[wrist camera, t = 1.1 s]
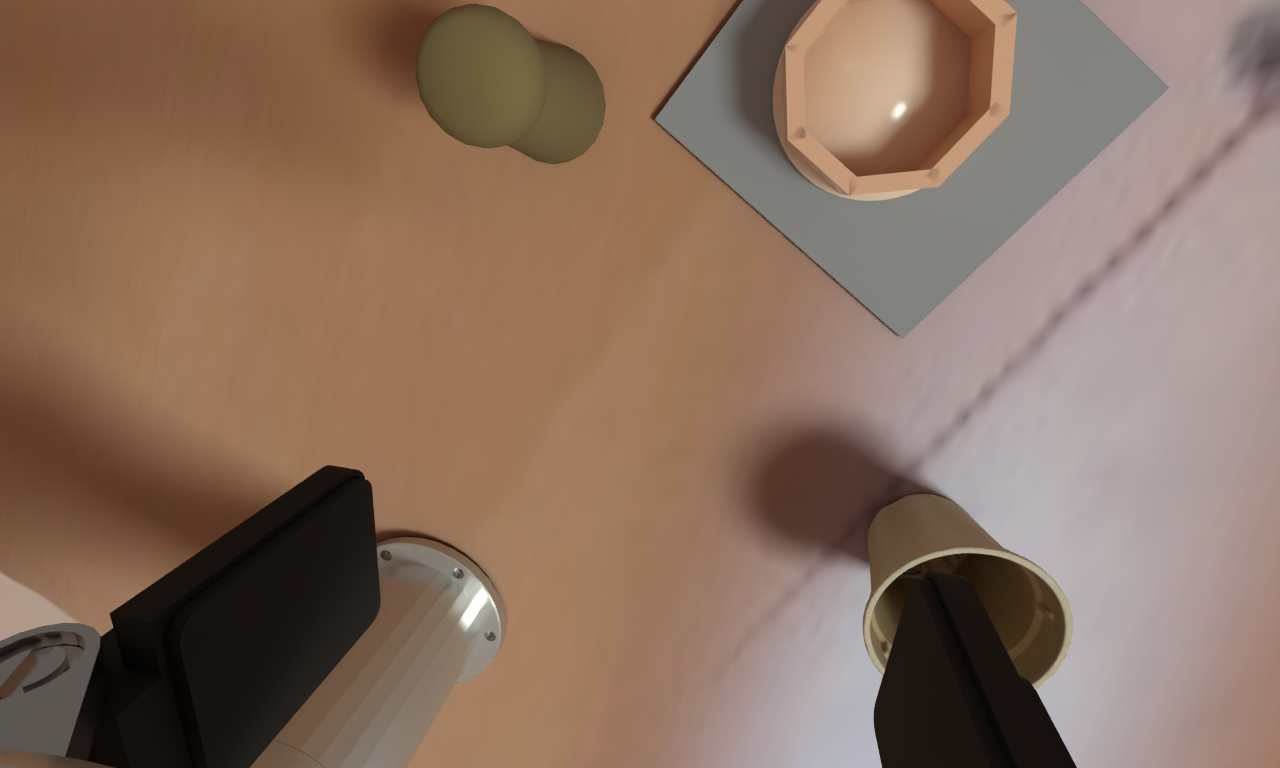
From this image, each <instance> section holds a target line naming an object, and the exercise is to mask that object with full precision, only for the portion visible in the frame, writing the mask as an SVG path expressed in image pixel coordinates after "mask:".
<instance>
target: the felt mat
mask: <svg viewBox="0 0 1280 768" xmlns="http://www.w3.org/2000/svg"><path fill="white" fill-rule="evenodd" d="M816 1H817V0H743V1H742V3H741V4H740V5H739V7H738V8H737V9H736V11H735V12H734V13H733V15H732V16H731V17H730V19H729V20H728V21H727V23H726V24H725V26H724V27H723V28H722V30H721V31H720V32H719V34H718V35H717V36H716V38H715V39H714V40H713V42H712V43H711V44H710V46H709V47H708V48H707V50H706V51H705V52H704V54H703V55H702V57H701V58H700V59H699V61H698V62H697V63H696V65H695V66H694V67H693V69H692V70H691V71H690V73H689V74H688V75H687V77H686V78H685V79H684V81H683V82H682V83H681V85H680V86H679V88H678V89H677V90H676V92H675V93H674V94H673V96H672V97H671V98H670V100H669V101H668V102H667V104H666V105H665V106H664V108H663V109H662V110H661V112H660V113H659V115H658V116H657V117H656V119H655V120H656V121H657V122H658V123H659V124H660V125H661V126H662V127H663V128H665V129H666V130H667V131H668V132H669V133H670V134H671V135H673V136H674V137H675V138H676V139H677V140H678V141H679V142H680V143H682V144H683V145H684V146H685V147H686V148H687V149H688V150H689V151H691V152H692V153H693V154H694V155H695V156H696V157H697V158H699V159H700V160H701V161H702V162H703V163H704V164H705V165H706V166H708V167H709V168H710V169H711V170H712V171H713V172H714V173H715V174H717V175H718V176H719V177H720V178H721V179H722V180H723V181H725V182H726V183H727V184H728V185H729V186H730V187H731V188H732V189H734V190H735V191H736V192H737V193H738V194H739V195H740V196H741V197H743V198H744V199H745V200H746V201H747V202H748V203H749V204H751V205H752V206H753V207H754V208H755V209H756V210H757V211H758V212H760V213H761V214H762V215H763V216H764V217H765V218H766V219H767V220H769V221H770V222H771V223H772V224H773V225H774V226H775V227H777V228H778V229H779V230H780V231H781V232H782V233H783V234H784V235H786V236H787V237H788V238H789V239H790V240H791V241H792V242H793V243H795V244H796V245H797V246H798V247H799V248H800V249H801V250H803V251H804V252H805V253H806V254H807V255H808V256H809V257H810V258H812V259H813V260H814V261H815V262H816V263H817V264H818V265H819V266H821V267H822V268H823V269H824V270H825V271H826V272H827V273H829V274H830V275H831V276H832V277H833V278H834V279H835V280H836V281H838V282H839V283H840V284H841V285H842V286H843V287H844V288H845V289H847V290H848V291H849V292H850V293H851V294H852V295H853V296H854V297H856V298H857V299H858V300H859V301H860V302H861V303H862V304H864V305H865V306H866V307H867V308H868V309H869V310H870V311H871V312H873V313H874V314H875V315H876V316H877V317H878V318H879V319H880V320H882V321H883V322H884V323H885V324H886V325H887V326H888V327H890V328H891V329H892V330H893V331H894V332H895V333H896V334H897V335H899V336H900V337H901V338H902V339H903V338H904V337H905V336H906V335H907V334H908V333H909V332H910V331H911V330H912V329H913V328H914V327H916V326H917V325H918V324H919V323H920V322H921V321H922V320H923V319H924V318H925V317H926V316H927V315H928V314H929V313H930V312H931V311H933V310H934V309H935V308H936V307H937V306H938V305H939V304H940V303H941V302H942V301H943V300H944V299H945V298H946V297H947V296H948V295H950V294H951V293H952V292H953V291H954V290H955V289H956V288H957V287H958V286H959V285H960V284H961V283H962V282H963V281H964V280H966V279H967V278H968V277H969V276H970V275H971V274H972V273H973V272H974V271H975V270H976V269H977V268H978V267H979V266H980V265H981V264H983V263H984V262H985V261H986V260H987V259H988V258H989V257H990V256H991V255H992V254H993V253H994V252H995V251H996V250H997V249H998V248H1000V247H1001V246H1002V245H1003V244H1004V243H1005V242H1006V241H1007V240H1008V239H1009V238H1010V237H1011V236H1012V235H1013V234H1014V233H1015V232H1017V231H1018V230H1019V229H1020V228H1021V227H1022V226H1023V225H1024V224H1025V223H1026V222H1027V221H1028V220H1029V219H1030V218H1031V217H1032V216H1034V215H1035V214H1036V213H1037V212H1038V211H1039V210H1040V209H1041V208H1042V207H1043V206H1044V205H1045V204H1046V203H1047V202H1048V201H1049V200H1051V199H1052V198H1053V197H1054V196H1055V195H1056V194H1057V193H1058V192H1059V191H1060V190H1061V189H1062V188H1063V187H1064V186H1065V185H1066V184H1068V183H1069V182H1070V181H1071V180H1072V179H1073V178H1074V177H1075V176H1076V175H1077V174H1078V173H1079V172H1080V171H1081V170H1082V169H1083V168H1085V167H1086V166H1087V165H1088V164H1089V163H1090V162H1091V161H1092V160H1093V159H1094V158H1095V157H1096V156H1097V155H1098V154H1099V153H1100V152H1102V151H1103V150H1104V149H1105V148H1106V147H1107V146H1108V145H1109V144H1110V143H1111V142H1112V141H1113V140H1114V139H1115V138H1116V137H1117V136H1119V135H1120V134H1121V133H1122V132H1123V131H1124V130H1125V129H1126V128H1127V127H1128V126H1129V125H1130V124H1131V123H1132V122H1133V121H1135V120H1136V119H1137V118H1138V117H1139V116H1140V115H1141V114H1142V113H1143V112H1144V111H1145V110H1146V109H1147V108H1148V107H1149V106H1150V105H1152V104H1153V103H1154V102H1155V101H1156V100H1157V99H1158V98H1159V97H1160V96H1161V95H1162V94H1163V93H1164V92H1165V91H1166V90H1167V89H1169V88H1170V87H1169V86H1167V85H1166V84H1165V83H1164V82H1163V81H1162V80H1161V79H1160V78H1159V77H1158V76H1157V75H1156V74H1155V73H1154V72H1153V71H1152V70H1151V69H1150V68H1149V67H1148V66H1147V65H1146V64H1145V63H1144V62H1143V61H1142V60H1141V59H1140V58H1139V57H1138V56H1137V55H1136V54H1135V53H1134V52H1133V51H1132V50H1131V49H1130V48H1128V47H1127V46H1126V45H1125V44H1124V43H1123V42H1122V41H1121V40H1120V39H1119V38H1118V37H1117V36H1116V35H1115V34H1114V33H1113V32H1112V31H1111V30H1110V29H1109V28H1108V27H1107V26H1106V25H1105V24H1104V23H1103V22H1102V21H1101V20H1100V19H1099V18H1098V17H1097V16H1096V15H1095V14H1094V13H1093V12H1092V11H1091V10H1089V9H1088V8H1087V7H1086V6H1085V5H1084V4H1083V3H1082V2H1081V1H1080V0H1004V1H1005V2H1006V3H1008V4H1009V5H1010V6H1011V7H1012V8H1013V9H1014V10H1015V11H1016V12H1017V23H1016V36H1015V49H1014V62H1013V75H1012V88H1011V101H1010V114H1009V115H1008V116H1007V117H1006V118H1005V119H1004V120H1003V121H1002V122H1001V123H1000V124H999V125H998V126H997V128H996V129H995V130H994V131H993V132H992V133H991V134H990V135H989V136H988V137H987V138H986V139H985V140H984V141H983V142H982V143H981V144H980V145H979V146H978V147H977V148H976V149H975V150H974V151H973V152H972V153H971V154H970V155H969V156H968V157H967V158H966V159H965V160H964V161H963V162H962V163H961V164H960V165H959V166H958V168H957V169H956V170H955V171H954V172H953V173H952V174H951V175H950V176H949V177H948V178H947V179H946V180H945V181H944V182H943V183H942V184H941V185H940V186H939V187H933V188H922V189H919V190H917V191H915V192H912V193H910V194H907V195H904V196H900V197H897V198H893V199H887V200H880V201H862V200H852V199H848V198H844V197H840V196H836V195H834V194H831V193H829V192H826V191H824V190H823V189H821V188H819V187H817V186H816V185H814V184H813V183H812V182H810V181H809V180H808V179H806V178H805V177H804V176H803V175H802V174H801V173H800V172H799V171H798V170H797V169H796V168H795V166H794V165H793V164H792V162H791V161H790V159H789V158H788V157H787V155H786V153H785V151H784V149H783V147H782V145H781V143H780V140H779V137H778V134H777V131H776V127H775V122H774V116H773V106H772V102H773V86H774V79H775V74H776V70H777V66H778V63H779V59H780V56H781V54H782V51H783V49H784V46H785V44H786V42H787V40H788V38H789V36H790V34H791V33H792V31H793V29H794V28H795V26H796V25H797V23H798V22H799V20H800V19H801V18H802V16H803V15H804V14H805V13H806V12H807V10H808V9H809V8H810V7H811V6H812V5H813V4H814V3H815V2H816Z"/></svg>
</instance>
